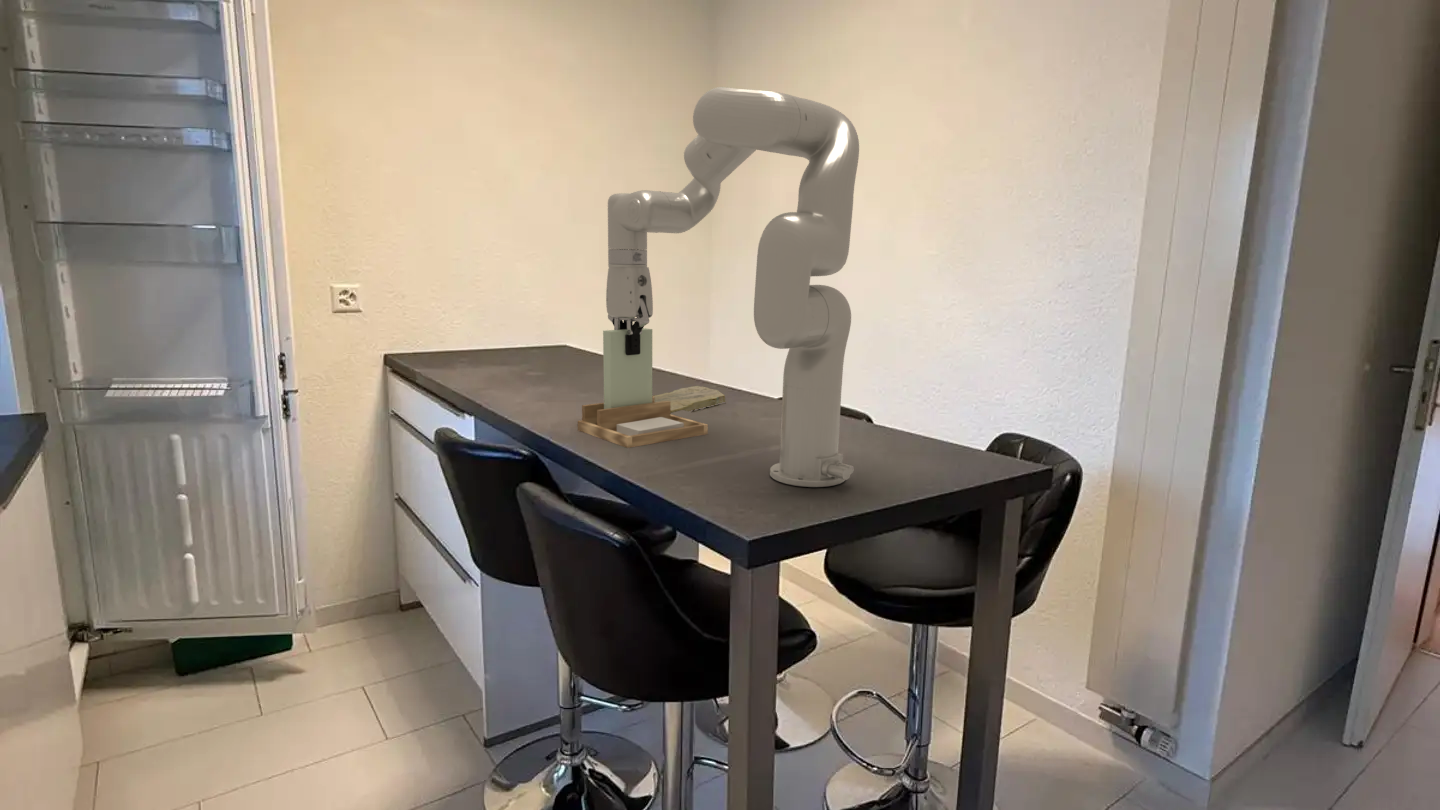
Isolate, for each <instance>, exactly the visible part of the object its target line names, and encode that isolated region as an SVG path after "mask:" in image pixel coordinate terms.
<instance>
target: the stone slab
mask: <svg viewBox="0 0 1440 810" xmlns="http://www.w3.org/2000/svg"><path fill="white" fill-rule="evenodd" d="M652 397H655V402H661V401H671V407H670V414H672V413H676V412H678V411H679V412H680V411H685V412H689V411H691V410H695V409H699V408H703V407H707V406H711V405H715V404H718V403H722V402H726V397H725V394H723V393H722V392H720V390H718V389H713V388H709V387H705V386H700V385H695V386H694V385H693V386H688V387H680V388H678V389H674V390H673V391H671V392H663V393H661V394H656V395H655V394H654V395H652Z"/></svg>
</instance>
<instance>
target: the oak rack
mask: <svg viewBox="0 0 1440 810" xmlns="http://www.w3.org/2000/svg"><path fill="white" fill-rule="evenodd" d="M670 407H671V401H661V402H655V397H652V403H646V404H639V405H631V406H623V407H616V408H608V409H604V402H598V403H597V402H596V403H591V404H590V403H589V404H584V405H583V404H582V405H581V420H577V431H578V432H580V433H584V434H587V435H590V436H593V437H596V438H599V439H600V440H601V439H602V440H605V441H607V442H610V443H613V444H615V445H617V446H621V447H624V448H627V449H628V448H629V449H630V448H635V447H640V446H641V447H643V446H646V445H652V444H658V443H664V442H670V441H676V440H681V439H688V438H693V437H698V436H705V435H709V434H708V429H709V428H708V426H709V425H708V424H707V423H703V422H700V421H697V420H694V419H693V420H692V419H690V418H685V417H681V416H678V415H675V414H672V413H670ZM658 417H663V418H667V419H671V420H675V421H678V422H682V423H684V427H681V428H675V429H668V430H662V431H656V432H650V433H644V434H637V435H631V436H628V435H625V434H622V433H619V432H617V424H622V423H628V422H634V421H640V420H646V419H652V418H658Z"/></svg>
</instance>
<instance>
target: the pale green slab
mask: <svg viewBox="0 0 1440 810" xmlns="http://www.w3.org/2000/svg"><path fill="white" fill-rule="evenodd" d="M602 335H603V338H602V347H603V350H602V351H603V354H602V355H603V360H602V361H603V364H602V366H603V403H604V409H608V408H616V407H623V406H631V405H639V404H646V403H652V396H653V329H652V328H646V327H645V328H644V327H643V329H642V334H640V354H638V355H626V353H625V335H628V333H627V329H623V330H614V329H611V330H609V329H607V330H602Z"/></svg>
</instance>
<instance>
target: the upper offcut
mask: <svg viewBox="0 0 1440 810" xmlns="http://www.w3.org/2000/svg"><path fill="white" fill-rule="evenodd" d="M681 427H684V423H682V422H678V421H675V420H671V419H667V418H663V417H658V418H652V419H646V420H640V421H634V422H628V423H622V424H617V432H619V433H622V434H625V435H628V436H631V435H637V434H644V433H650V432H656V431H662V430H668V429H675V428H681Z"/></svg>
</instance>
